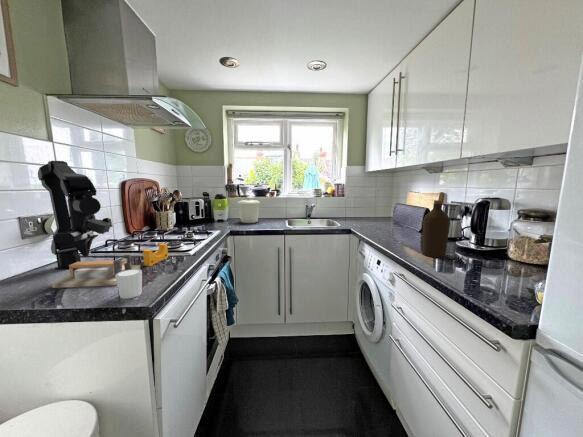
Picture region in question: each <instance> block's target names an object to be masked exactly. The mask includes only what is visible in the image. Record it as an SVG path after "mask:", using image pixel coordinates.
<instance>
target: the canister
mask: <svg viewBox="0 0 583 437" xmlns="http://www.w3.org/2000/svg"><path fill="white" fill-rule="evenodd" d="M237 204H238V205H237V206H238V211H239V212H238V213H239V218H240V222H241V223H242V224H255V223H257V222H258V221H259V213H260V204H261V202H260V201H259V200H257V199H252V197H251V196H246V199H243V200H239V201H237Z"/></svg>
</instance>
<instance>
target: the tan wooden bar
mask: <svg viewBox="0 0 583 437" xmlns="http://www.w3.org/2000/svg"><path fill="white" fill-rule="evenodd" d="M120 260H121V265H122V266H123V265H124V264H125V263H127V261H128V258H124V257H123V259H120ZM113 261H114V260H111V259H110V260H89V261H85V260H84V261H81V262H76V263H73V264H71V265H69V269H68V270H69V275H74V273H73V271H75V270H77V269H79V268H86V267H109V266H114V263H113Z"/></svg>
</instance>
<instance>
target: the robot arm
mask: <svg viewBox="0 0 583 437" xmlns="http://www.w3.org/2000/svg"><path fill="white" fill-rule="evenodd" d="M37 178H38V180H39V181H40V183H41V186H42V187H43V188H44V189H45V190H46V191H47V192H48V193H49V197H50V203H51V207H52V212H53V217H54V221H55V225H56V226H55V227H56V229H55V230H54V233H53V234H52V240H51V244H50V250H51V254H52V255H54V256H55V257H56V263H57V266H56V267H54V269H55V270H65V269H68V270H69V265H71V264H73V263H76V262H82V260H81V255H82V256H83V257H84V258H86V257H88V256H89V255H90V250H91V247H92V244H93V241H94V240H95V239H96V238H97V237H98V236H99V234H100V235H104V234H105V233H110V232H109V231H110V229H111V228H112V227H113V224H112V222H113V221H112V219H111V218H109V217H105V218H104V217H103V219H97V218H96V215H95V214H97V213H99V211H100V210H101V208H102V207H101V202H100V201H99V200H98V198H95V197H93V196H97V189H96V188H95V186H94V184H93V182H92V180H91V179H90V178H89V176H87V175H85V174H83V173H82V174H81V173H77V172H76V171H75V170H74V169H73V168H71V167H70V166H69V165H68V162H67V161H65V160H49V161H48V162H47V163H46V164H44V165H42V166H39V168H38V170H37ZM95 233H97V234H95Z"/></svg>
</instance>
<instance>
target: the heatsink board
mask: <svg viewBox="0 0 583 437" xmlns="http://www.w3.org/2000/svg"><path fill="white" fill-rule="evenodd" d="M124 258H128V261H127V263H125V264H124V265H121V260H122V259H115V260H114V261H113V263H114V266H109V267H86V268H79V269H77V270H75V271H73V273H74V275H70V274H68V275H67V276H64V277H62V278H61V279H58V280H56V281H53V282H52V283H51V286H52V288H53V289H54V288H55V289H56V288H57V289H58V288H79V287H105V286H106V287H107V286H118V285H117V281H116V276H115V275H116V274H117V273H119V272H121V271H125V270H130V269H139V270H141V264H132V255H131V254H124V255H123V259H124Z"/></svg>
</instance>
